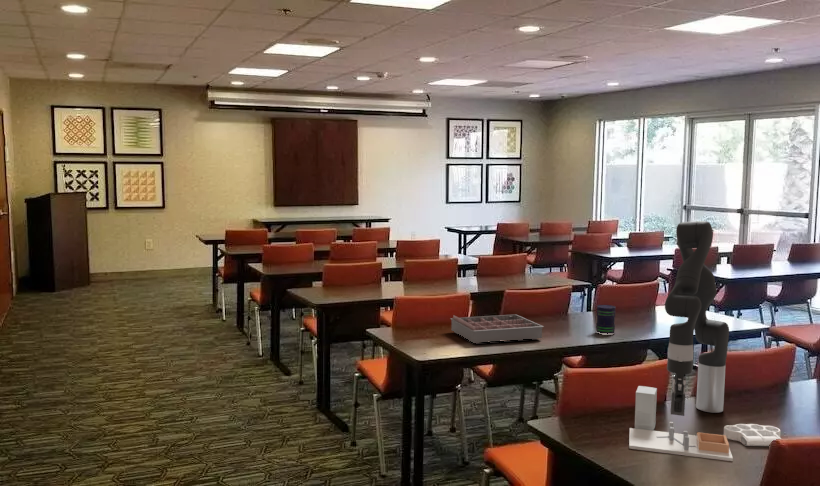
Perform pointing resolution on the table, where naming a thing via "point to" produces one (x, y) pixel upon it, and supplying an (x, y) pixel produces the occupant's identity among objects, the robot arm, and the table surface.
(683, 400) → the dark grey block
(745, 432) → the white brass knuckles
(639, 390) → the small box
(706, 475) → the table surface
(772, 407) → the table surface
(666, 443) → the board
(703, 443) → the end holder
